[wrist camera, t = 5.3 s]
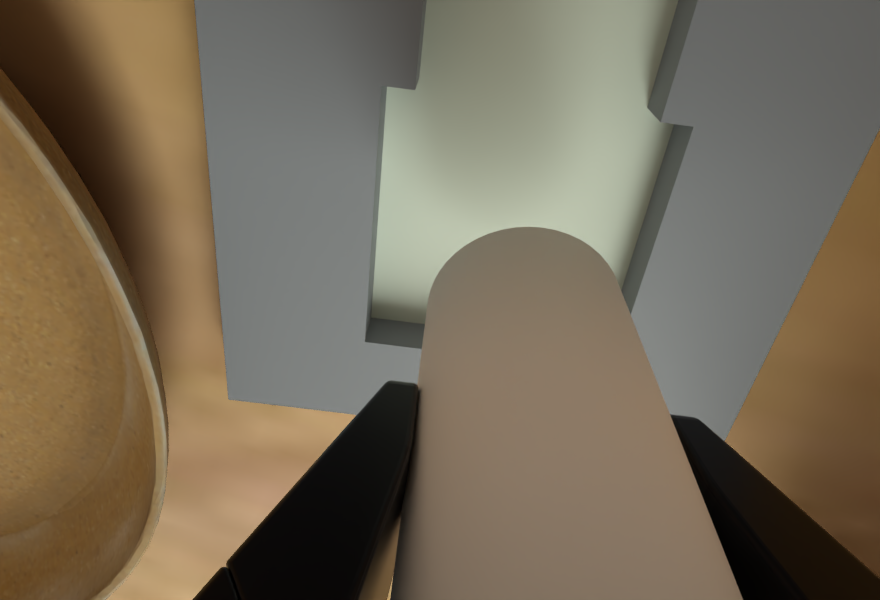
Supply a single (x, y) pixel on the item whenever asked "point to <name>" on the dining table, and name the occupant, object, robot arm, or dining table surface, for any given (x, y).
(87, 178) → the dining table surface
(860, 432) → the dining table surface
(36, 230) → the plant saucer
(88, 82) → the dining table surface
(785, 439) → the dining table surface
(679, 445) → the cream peg
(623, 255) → the keyhole plate
